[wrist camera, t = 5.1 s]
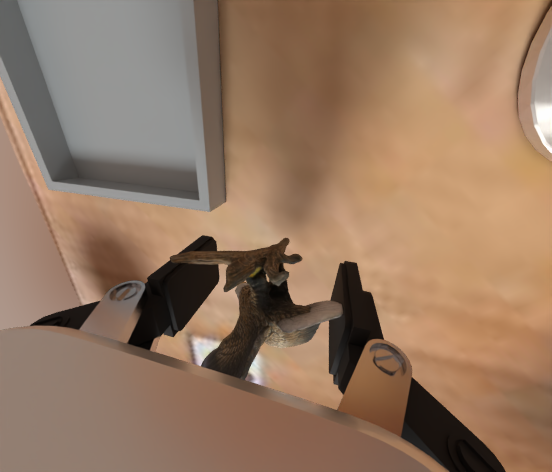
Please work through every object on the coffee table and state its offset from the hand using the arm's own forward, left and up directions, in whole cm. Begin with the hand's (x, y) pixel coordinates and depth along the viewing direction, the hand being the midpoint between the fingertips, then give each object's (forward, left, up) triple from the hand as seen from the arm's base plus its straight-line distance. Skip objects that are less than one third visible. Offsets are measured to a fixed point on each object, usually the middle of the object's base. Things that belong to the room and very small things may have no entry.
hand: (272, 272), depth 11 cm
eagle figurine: (0, +2, -1) cm, 3 cm away
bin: (+14, -9, -8) cm, 19 cm away
